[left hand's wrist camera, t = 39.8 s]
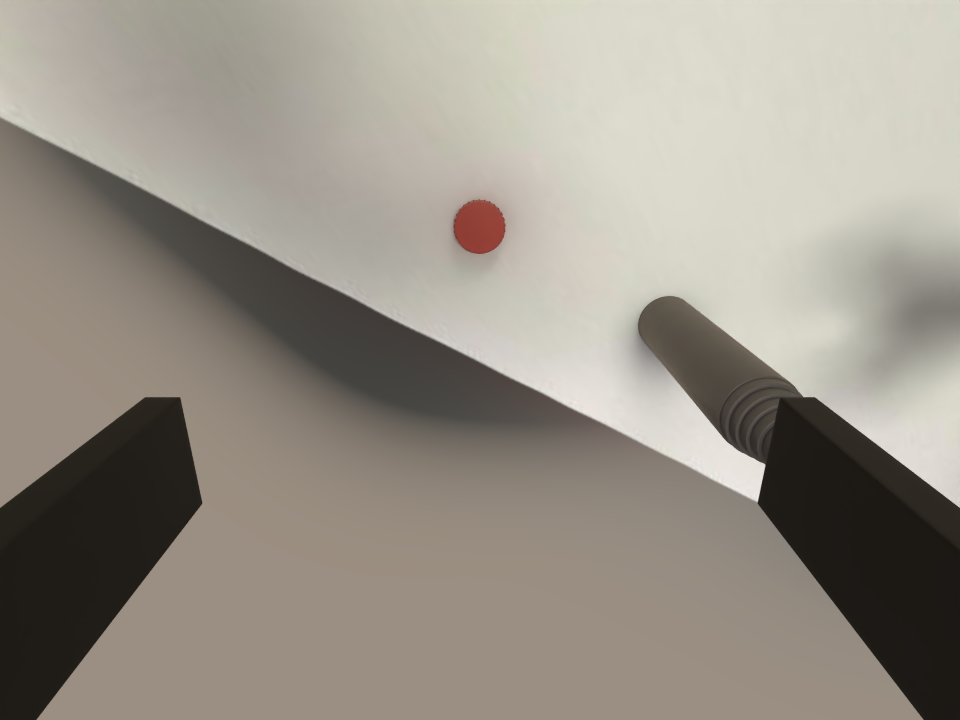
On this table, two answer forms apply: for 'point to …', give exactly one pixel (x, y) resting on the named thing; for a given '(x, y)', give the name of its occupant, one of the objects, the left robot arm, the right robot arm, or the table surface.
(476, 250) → the cap
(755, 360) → the bottle
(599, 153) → the table surface
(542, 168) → the table surface
